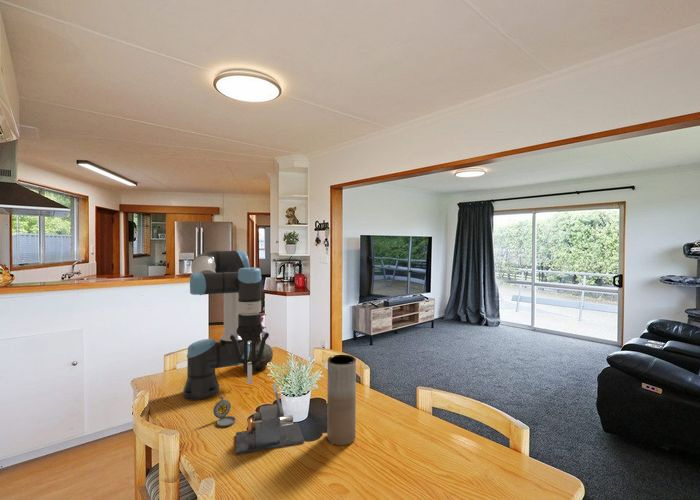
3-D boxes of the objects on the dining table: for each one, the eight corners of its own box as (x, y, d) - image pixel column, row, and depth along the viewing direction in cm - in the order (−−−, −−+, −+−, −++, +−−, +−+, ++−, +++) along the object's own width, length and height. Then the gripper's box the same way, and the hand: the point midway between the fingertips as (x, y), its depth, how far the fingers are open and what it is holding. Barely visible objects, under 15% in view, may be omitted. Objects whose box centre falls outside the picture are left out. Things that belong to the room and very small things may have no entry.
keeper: (278, 406, 122) (271, 383, 122) (281, 405, 123) (275, 382, 122) (280, 417, 115) (274, 393, 114) (284, 415, 115) (277, 391, 114)
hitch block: (236, 435, 120) (236, 408, 120) (298, 425, 127) (298, 399, 127) (236, 455, 108) (236, 425, 108) (304, 442, 115) (304, 415, 115)
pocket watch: (229, 428, 124) (229, 401, 124) (208, 426, 126) (208, 399, 126) (240, 417, 132) (240, 392, 132) (221, 415, 134) (221, 390, 134)
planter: (359, 433, 122) (359, 356, 121) (350, 448, 112) (350, 365, 112) (333, 427, 125) (333, 353, 125) (322, 442, 116) (323, 361, 115)
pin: (247, 430, 118) (247, 415, 118) (291, 423, 123) (291, 409, 122) (248, 437, 113) (248, 423, 113) (293, 430, 118) (293, 416, 118)
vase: (235, 372, 179) (235, 315, 178) (250, 361, 196) (250, 309, 195) (265, 374, 176) (265, 317, 175) (277, 363, 193) (277, 310, 193)
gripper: (228, 316, 109) (228, 389, 109) (270, 314, 113) (270, 384, 113) (229, 312, 116) (229, 380, 117) (268, 310, 120) (268, 376, 120)
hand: (249, 382), depth 115 cm, fingers closed
